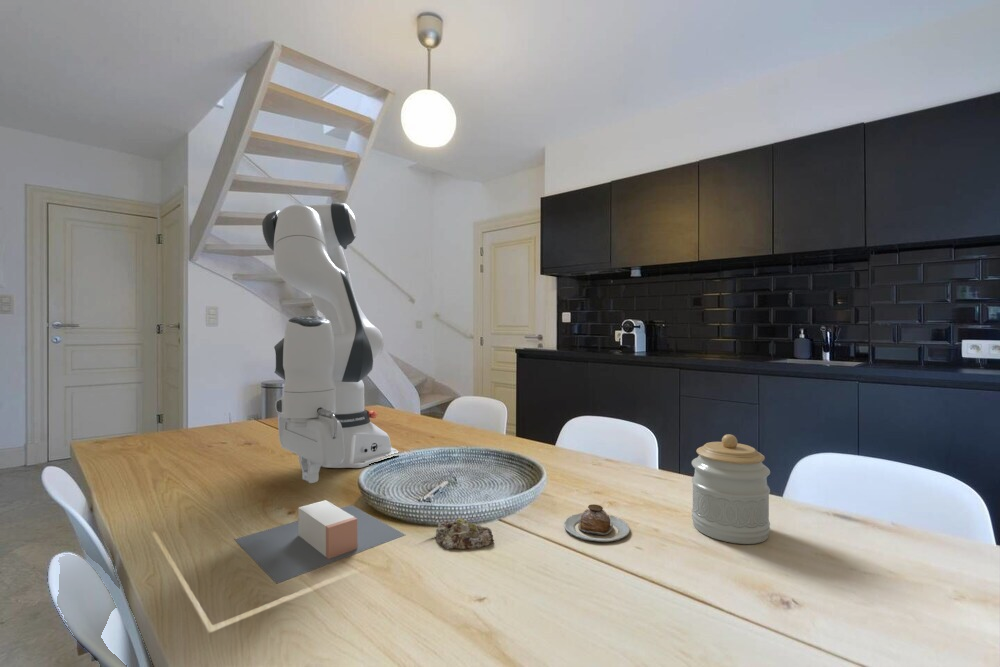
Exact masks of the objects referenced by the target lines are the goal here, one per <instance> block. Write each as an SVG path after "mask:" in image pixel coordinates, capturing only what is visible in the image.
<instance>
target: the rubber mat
mask: <svg viewBox="0 0 1000 667" xmlns="http://www.w3.org/2000/svg"><path fill="white" fill-rule="evenodd" d="M339 508H340V509H342V510H343V511H345V512H347V513H349V514H350V515H352V516H354V517H355V518H357V540H358V548H357V549H354V550H352V551H349V552H346V553H344V554H341V555H338V556H335V557H333V558H330V559H328V558H327V557H325V556H324V555H323V554H322V553H320V552H319V551H318V550H317V549H315V548H314V547H313V546H311V545H310V544H309V543H308V542H306V541H305V540H304V539H303V538H301V537H300V536H299V523H298V520H296V521H292V522H289V523H285V524H282V525H278V526H275V527H272V528H268V529H263V530H262V531H258V532H255V533H254V532H253V533H251V534H248V535H244V536H241V537H238V538H234V541H235V542H236V543H237V544H238V545H239V546H240V547H241V548H242V549H243V550H244V552H245V553H246V554H247V555H249V557H250V558H251V559H252V560H253V561H254V562H255V563H256V564H257V565H258V566H259V567H260V568H261V569H262V570H263V571H264V572H265V574H266V575H267V576H269V578H270V579H271V580H272V581H273V582H274V583H275V584H280V583H282V582H285V581H288V580H290V579H294V578H296V577H298V576H302V575H303V574H307V573H309V572H311V571H314V570H317V569H319V568H321V567H325V566H328V565H330V564H333V563H335V562H338V561H341V560H344V559H346V558H349V557H352V556H354V555H357V554H359V553H362V552H364V551H367V550H370V549H373V548H375V547H378V546H380V545H383V544H386V543H389V542H391V541H394V540H396V539H398V538H402V537H404V536H406V533H404V532H402V531H399V530H398V529H396V528H394V527H392V526H390V525H389V524H387V523H385V522H384V521H382V520H379V519H378V518H376V517H374V516H373V515H370V514H368V513H367V512H365V511H363V510H362V509H360V508H359V507H356V506H354V505H353V504H350V505H346V506H343V507H339Z"/></svg>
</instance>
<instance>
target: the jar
mask: <svg viewBox="0 0 1000 667" xmlns="http://www.w3.org/2000/svg"><path fill="white" fill-rule="evenodd" d="M738 441H739V440H738V439H737V437H736V436H735V435H734V434H729V433H728V434H724V435H723V436H722V438H721V441H711V442H706V443H705V444H703V445H702V446H700V447H698V448H697V449H696V453H697V455H698V456H697V457H695V458H693V459H692V460H691V466H692V467H693V468H694V475H693V476H692V477H691V483H692V509H691V520H692V525H693V528H695V529H696V530H697V531H698V532H700V533H701V534H702V535H706V536H707V537H709V538H712V539H715V540H718V541H721V542H726V543H730V544H731V543H732V544H736V545H737V544H738V545H739V544H741V545H754V544H759V543H762V542H766V540H767V539H769V534H770V531H771V528H770V526H771V522H770V493H771V488H770V487H769V485H768V482H767V478H768V476H769V475H770V474H771V471H770V469H769V467H767V466H766V465H765V464H764V463H763V462H764V461H765V460H766V458H765V455H763V454H762V453H761V452H759V451H758V450H757V449H756V448H754V447H753V446H750V445H747V444H743V443H738Z"/></svg>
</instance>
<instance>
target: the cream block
mask: <svg viewBox="0 0 1000 667" xmlns="http://www.w3.org/2000/svg"><path fill="white" fill-rule="evenodd" d="M340 508H341V507H338V506H336V505H334V504H333V503H332V502H330V501H328V500H326V499H324V500H322V501H318V502H313V503H310V504H306V505H303V506H302V505H301V506H299V507H298V516H297V517H298V518H297V519H298V520H297V521H298V523H299V536H300V537H301V538H303V539H304V540H305V541H306V542H308V543H309V544H310V545H311V546H313V547H314V548H315V549H317V550H318V551H319V552H320V553H322V554H323V555H324V556H325V557H327V558H328V559H330V558H333V557H335V556H338V555H341V554H344V553H346V552H349V551H352V550H354V549H357V548H358V540H357V518H355V517H354V516H352V515H350V514H349V513H347V512H345V511H343V510H342V509H340Z"/></svg>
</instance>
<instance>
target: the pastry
mask: <svg viewBox="0 0 1000 667" xmlns="http://www.w3.org/2000/svg"><path fill="white" fill-rule="evenodd" d="M587 507H588V509H585V510H584V511H583V512H581V513H577V514H572V515H571V516H568V517H567V518H566V519H565V520H564V522H563V527H564V529H565V530H566V531H567V532H568V533H569V534H570V535H571V536H573V537H575V538H578V539H581V540H583V541H593V542H601V543H606V542H607V543H608V542H613V541H614V542H616V541H620V540H622V539H625V538H626V537H627V536H628V535H629V534H630V532H631V530H630V526H629V524H628V523H627V522H626V521H625V520H623V519H621V518H619V517H616V516H614V515H611V514H608V513H607V512H606V511H605V510H604V508H603V506H602V505H599V504H589V505H588V506H587ZM576 526H577V527H578V529H579V531H581V532H584V533H587V534H592V535H597V536H606V535H609V534H610V533H611V532H612V531H613V529H614V527H615V528H616V529H617V533H616V535H614V536H612V537H607V538H605V537H604V538H599V537H598V538H597V537H590V536H586V535H584V534H581V533H580V532H578V531H577V530H576Z"/></svg>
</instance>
